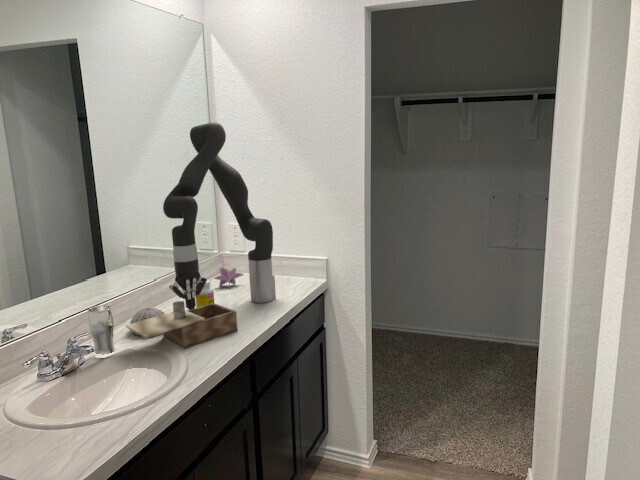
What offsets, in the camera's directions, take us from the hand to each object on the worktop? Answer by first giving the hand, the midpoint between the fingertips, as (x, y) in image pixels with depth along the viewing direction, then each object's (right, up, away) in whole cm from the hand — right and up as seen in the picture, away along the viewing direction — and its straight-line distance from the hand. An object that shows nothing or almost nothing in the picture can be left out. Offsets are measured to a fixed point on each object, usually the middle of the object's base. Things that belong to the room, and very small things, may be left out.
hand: (191, 308), depth 168 cm
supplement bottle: (0, -6, +23) cm, 24 cm away
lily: (+2, +2, +59) cm, 59 cm away
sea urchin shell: (-17, -9, +9) cm, 21 cm away
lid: (-7, -4, -6) cm, 10 cm away
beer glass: (-24, -13, -10) cm, 29 cm away
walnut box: (+2, -9, +4) cm, 10 cm away
